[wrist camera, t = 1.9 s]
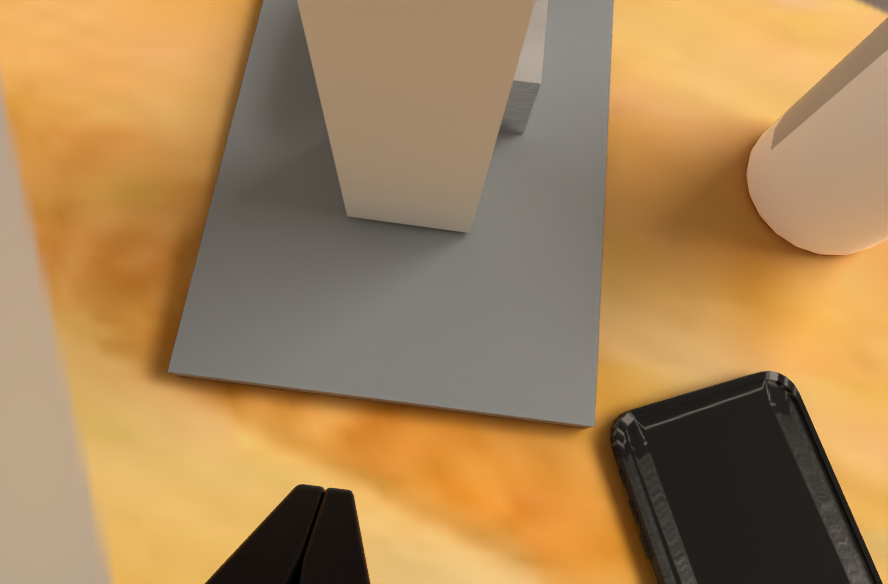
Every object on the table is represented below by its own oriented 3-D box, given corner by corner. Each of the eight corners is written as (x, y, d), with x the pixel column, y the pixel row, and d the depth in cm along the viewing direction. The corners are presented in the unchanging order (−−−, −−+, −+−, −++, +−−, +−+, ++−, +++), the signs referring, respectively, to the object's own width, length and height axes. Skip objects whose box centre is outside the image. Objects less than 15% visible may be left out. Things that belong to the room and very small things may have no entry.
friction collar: (523, 134, 25) (541, 83, 22) (325, 106, 25) (313, 51, 22) (534, 10, 27) (552, -54, 24) (350, -17, 27) (342, -85, 24)
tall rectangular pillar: (472, 235, 24) (560, -63, 10) (344, 218, 24) (264, -107, 10) (485, 124, 25) (576, -264, 12) (364, 107, 25) (318, -304, 12)
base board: (586, 427, 23) (594, 426, 22) (177, 375, 23) (167, 371, 22) (606, 13, 29) (613, -3, 28) (281, -35, 28) (276, -53, 27)
